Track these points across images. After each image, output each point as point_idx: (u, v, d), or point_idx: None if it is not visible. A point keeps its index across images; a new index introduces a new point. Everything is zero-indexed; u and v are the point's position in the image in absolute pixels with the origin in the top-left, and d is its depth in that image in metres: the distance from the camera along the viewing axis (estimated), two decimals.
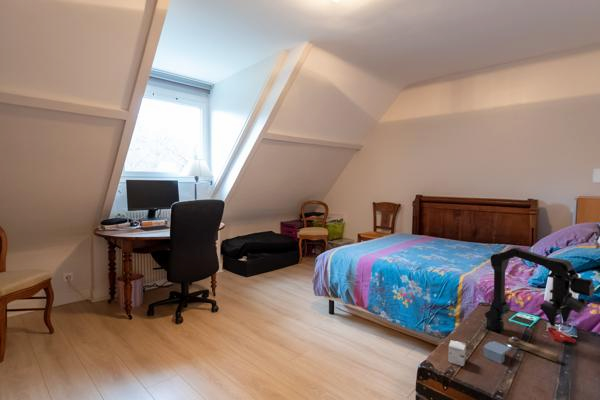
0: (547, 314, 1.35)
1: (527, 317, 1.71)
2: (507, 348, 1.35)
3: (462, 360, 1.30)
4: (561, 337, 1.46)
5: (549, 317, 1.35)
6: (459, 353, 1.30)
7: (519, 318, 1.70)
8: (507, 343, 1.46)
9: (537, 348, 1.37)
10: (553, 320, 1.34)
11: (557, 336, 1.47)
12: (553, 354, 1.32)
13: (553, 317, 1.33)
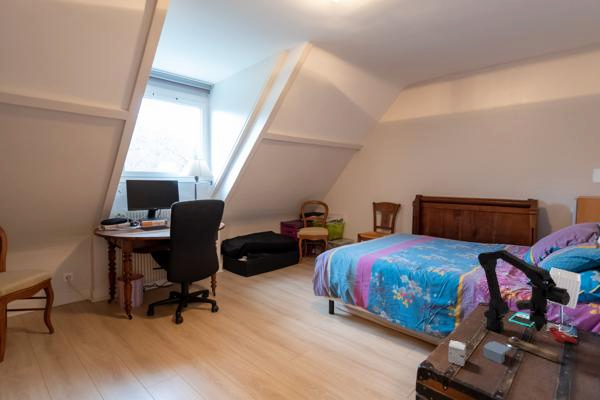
0: None
1: (527, 317, 1.71)
2: (507, 348, 1.35)
3: (462, 360, 1.30)
4: (562, 337, 1.46)
5: None
6: (459, 353, 1.30)
7: (519, 318, 1.70)
8: (507, 343, 1.46)
9: (537, 348, 1.37)
10: None
11: (558, 336, 1.47)
12: (553, 354, 1.32)
13: None
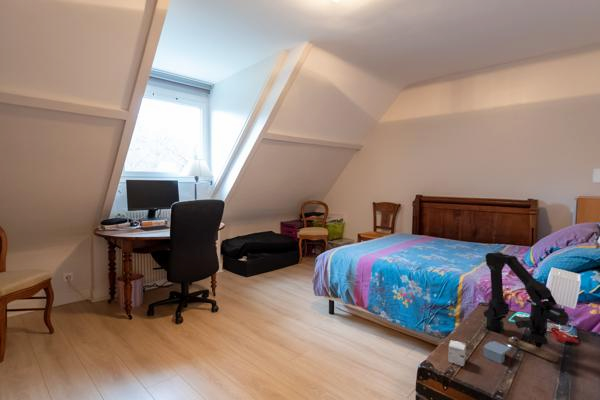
0: None
1: None
2: (507, 348, 1.35)
3: (462, 360, 1.30)
4: (564, 337, 1.45)
5: None
6: (459, 353, 1.30)
7: None
8: (507, 343, 1.46)
9: (537, 348, 1.36)
10: None
11: (560, 336, 1.46)
12: (552, 354, 1.31)
13: None
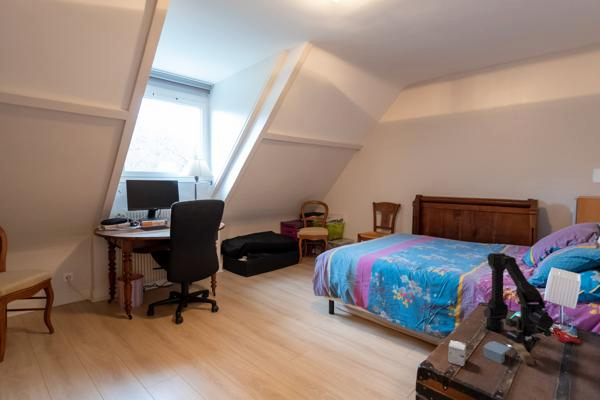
0: None
1: None
2: (507, 348, 1.35)
3: (462, 360, 1.30)
4: (566, 337, 1.45)
5: None
6: (459, 353, 1.30)
7: None
8: (507, 343, 1.46)
9: (522, 350, 1.36)
10: None
11: (562, 336, 1.46)
12: (528, 357, 1.30)
13: None
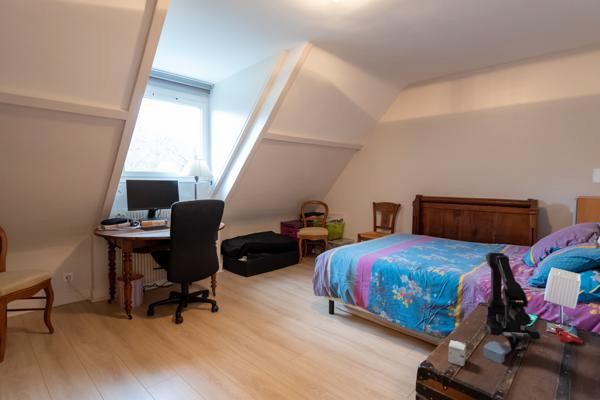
0: None
1: None
2: (507, 348, 1.35)
3: (462, 360, 1.30)
4: (568, 337, 1.45)
5: None
6: (459, 353, 1.30)
7: None
8: None
9: (505, 345, 1.39)
10: None
11: (564, 336, 1.46)
12: None
13: None
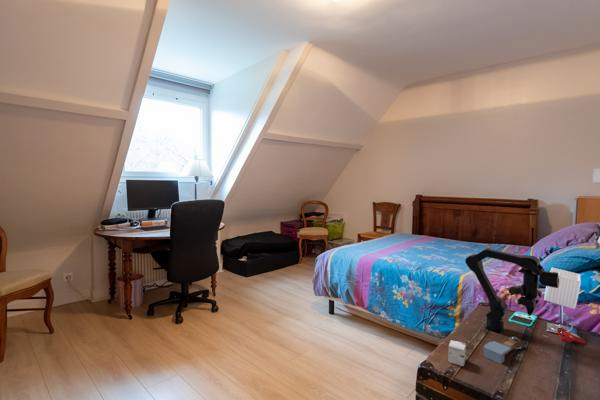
0: None
1: (525, 316, 1.72)
2: (507, 348, 1.35)
3: (462, 360, 1.30)
4: (570, 337, 1.45)
5: None
6: (459, 353, 1.30)
7: (518, 318, 1.71)
8: None
9: (505, 345, 1.39)
10: None
11: (566, 336, 1.46)
12: None
13: None
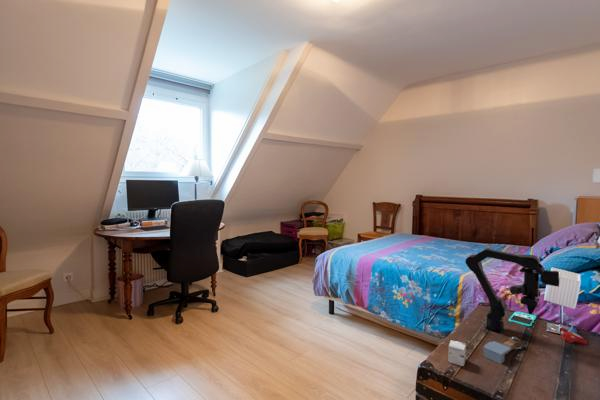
0: None
1: (525, 316, 1.72)
2: (507, 348, 1.35)
3: (462, 360, 1.30)
4: (572, 338, 1.45)
5: None
6: (459, 353, 1.30)
7: (518, 318, 1.71)
8: None
9: (505, 345, 1.39)
10: None
11: (568, 337, 1.46)
12: None
13: None
